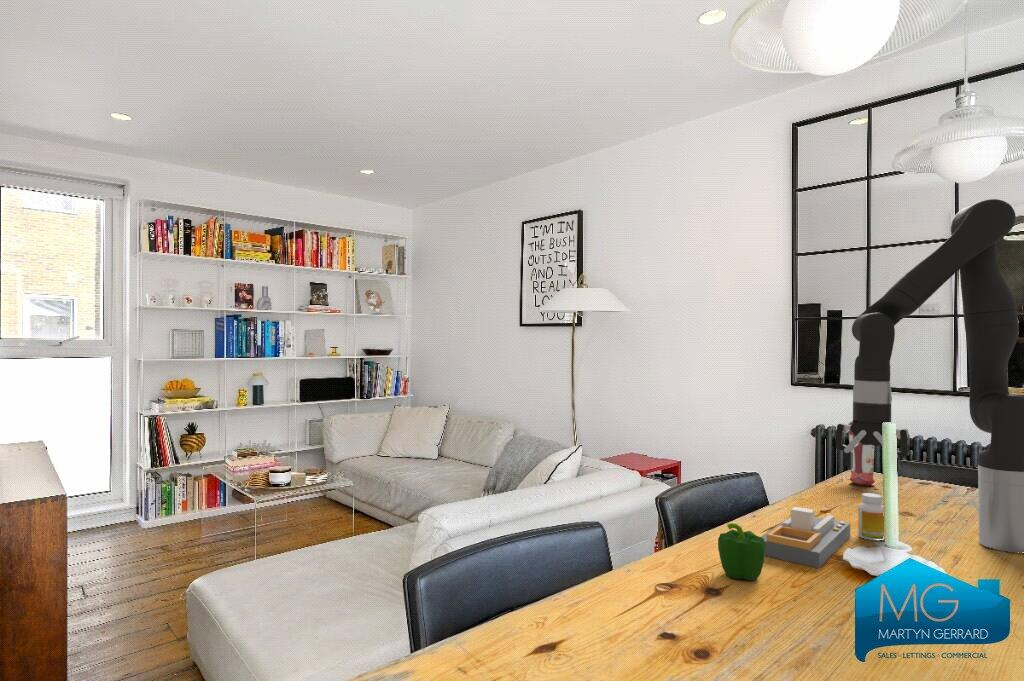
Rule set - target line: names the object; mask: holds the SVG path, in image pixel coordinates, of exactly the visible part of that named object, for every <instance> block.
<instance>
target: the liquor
mask: <svg viewBox="0 0 1024 681" xmlns="http://www.w3.org/2000/svg"><path fill="white" fill-rule="evenodd" d="M852 423H853V420H852V421H850V422H849V423H848V424H847V425H852ZM854 438H855V436H854V434H853V433H852V432H851V430H848V441H849V443H850V442H851V441H852V440H853V439H854ZM849 443H848V444H849ZM852 453H853V469H851V470H850V473H851V474H850V477H849V481H850V482H852V484H853V485H855V486H858V485H860V487H871V486H872V485H873V484H875V482H876V481H875V480H874V464H875V463H874V462H875V461H874V459H875V446H873V445H863V444H861V443H859V444H858V445H857V446H856V447H855V448H854V449H853V450H852ZM870 485H871V486H870Z"/></svg>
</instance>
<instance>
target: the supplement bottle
mask: <svg viewBox="0 0 1024 681" xmlns="http://www.w3.org/2000/svg"><path fill="white" fill-rule="evenodd" d="M861 500H862V502H861V503H859V504H858V506H857V508H858V510H857V513H858V515H857V516H858V517H857V518H858V536H859V538H861V539H863V538H864V539H863V540H867V539H870V540H869V541H871V540H874V539H883V536H884V516H883V506H884V505H883V504H882V503H883V496H882V495H881V494H879V493H878V494H877V493H873V492H872V493H870V492H864V493H862V494H861Z"/></svg>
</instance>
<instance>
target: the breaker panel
mask: <svg viewBox="0 0 1024 681" xmlns="http://www.w3.org/2000/svg"><path fill="white" fill-rule="evenodd" d="M760 537H762V538H763V539H764V542H765V544H766V551H765V557H769V558H772V559H778V560H783V561H787V562H790V563H794V564H795V563H796V564H799V565H805V566H809V567H811V568H812V567H813V568H817V569H820V568H821V567H822V566H823V565H824V564H825V563H826V562H827V561H828V560H829V559H830V558H831V557H832V556H833V555H834V554H835V553H836V552H837V551H838V550H839V549H840V548H841V547H842V545H844V543H846V541H847V540H848V539H849V538H851V522H846V521H839V520H835V515H830V514H828V515H827V516H826V517H819V516H815V526H814V527H813V528H812V532H811V531H806V530H801V529H796V528H791V515H790V516H789V517H787V518H786V519H785V520H783V521H781V522H780V523H778V524H777V525H776V526H774V527H773V528H772V529H770V530H768V531H767V532H765V533H764V534H762V535H761V536H760ZM834 552H835V553H834ZM833 553H834V554H833ZM832 554H833V555H832ZM831 555H832V556H831ZM830 556H831V557H830ZM829 557H830V558H829ZM828 558H829V559H828ZM827 559H828V560H827ZM826 560H827V561H826Z"/></svg>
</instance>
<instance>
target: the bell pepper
mask: <svg viewBox="0 0 1024 681" xmlns="http://www.w3.org/2000/svg"><path fill="white" fill-rule="evenodd" d="M726 525H727V526H726V527H727V529H729V530H728V531H727V532H722V533H720V534H719V537H718V538H717V541H718V542H717V548H718V549H717V550H718V554H719V559H720V563H721V566H722V569H723V571H724V573H725V574H726V576H727V577H729V578H731V579H744V580H747V581H755V580H757V579H758V578H759V577H760V575H761V573H762V571H763V567H764V564H765V563H764V562H765V558H766V556H765V551H766V544H765V542H764V539H763V538H762V537H761V536H758V535H756V534H755V533H754V532H752V531H751V530H747V531H744V530H743V527H741V526H740V525H739V524H737V523H732V522H731V523H727V524H726Z"/></svg>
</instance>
